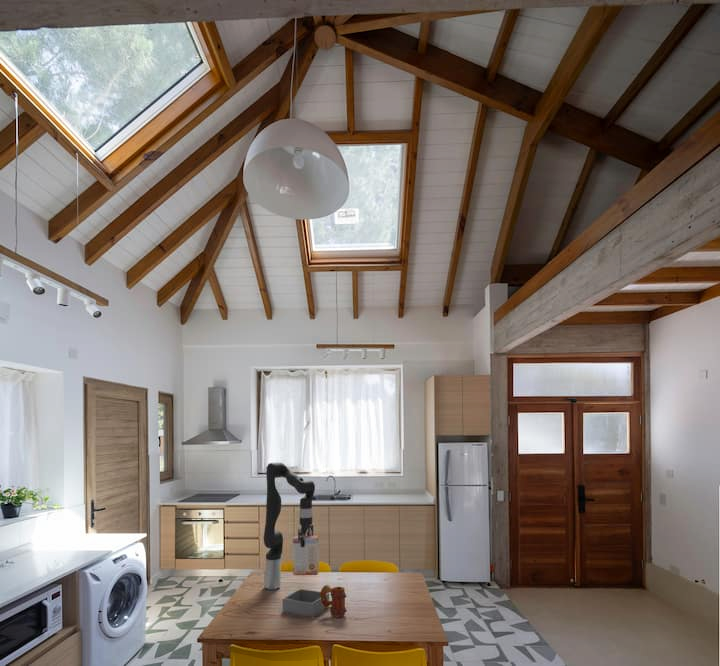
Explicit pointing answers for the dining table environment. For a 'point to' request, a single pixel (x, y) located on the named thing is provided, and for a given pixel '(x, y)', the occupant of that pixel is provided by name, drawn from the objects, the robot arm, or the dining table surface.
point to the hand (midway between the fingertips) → (305, 545)
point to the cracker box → (305, 556)
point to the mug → (334, 600)
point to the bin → (304, 603)
